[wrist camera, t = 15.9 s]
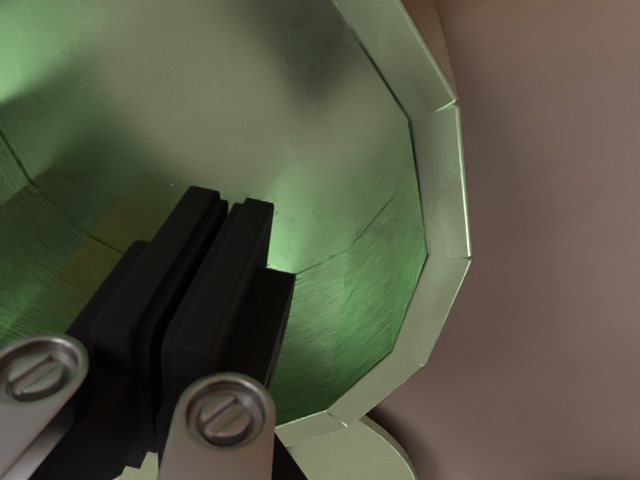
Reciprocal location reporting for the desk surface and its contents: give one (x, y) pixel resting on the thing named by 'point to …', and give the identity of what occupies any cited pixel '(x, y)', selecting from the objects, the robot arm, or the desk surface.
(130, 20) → the tin
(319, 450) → the lid
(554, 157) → the desk surface
